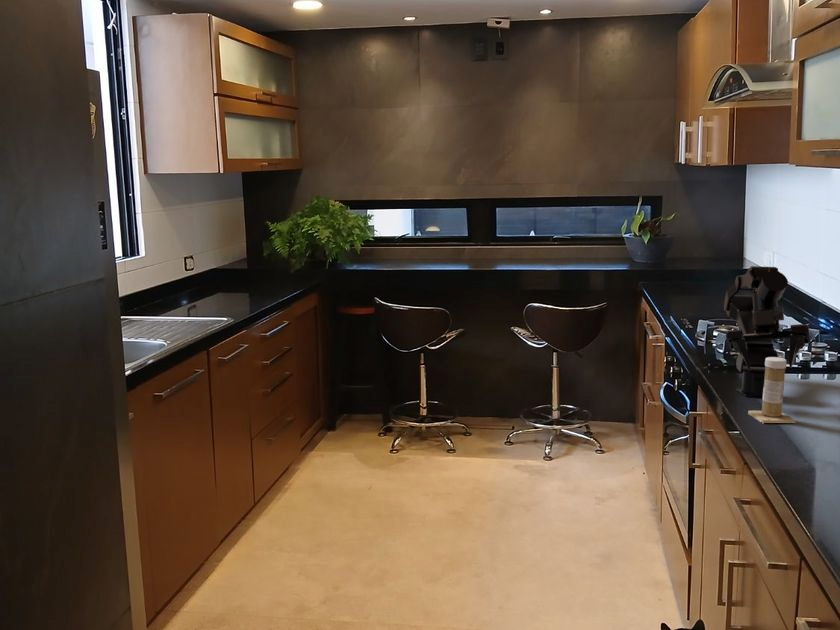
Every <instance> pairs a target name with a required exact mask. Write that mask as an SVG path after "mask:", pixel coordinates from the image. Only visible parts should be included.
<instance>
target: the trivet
mask: <svg viewBox="0 0 840 630" xmlns="http://www.w3.org/2000/svg"><path fill="white" fill-rule="evenodd" d="M761 411H762V410H748V413H747V415H749V416H751V417H752V418H754V419H755V420H757V421H758V422H760V423H761V422H762V423H761V424H763V425H764V423H795V424H796V421H797V420H796V419H794V418H792V417H790V416H789V415H788V414H786V413H784V412H782V415H781V416H779V417H771V416H766V415H763V414H762V413H761Z"/></svg>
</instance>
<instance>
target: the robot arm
mask: <svg viewBox="0 0 840 630" xmlns="http://www.w3.org/2000/svg"><path fill="white" fill-rule="evenodd" d="M788 284H789V281H788V278H787V277H786V275H785V274H784V273H782V272H780V271H779V269H778V267H776V266H754V265H753V266H750V267H749V268H748V269H747V271H746V273H745V274H743V275H742V274H741V275H740V274H739V275H737V276H736V277H735V281H734V283H733V284H732V285H731V286H730V287H729V288H728V289H727V290H726V293H725V296H724V300H723V301H724V302H723V309H724V311H725V312H726V315H727V317H728V318H729V319H731V320H734V321H735V322H736V324H737V327H738V329H730V330H727V331H726V332H725V340H726V344H727V346H728V349H729V350H734V352H737V353H738V355H737V358H736V369H737V370H738V371H739V372H740V373H742V383H741V388H736V391H737V393H740V394H741V395H743V396H745V397H753V398H754V397H755V398H756V397H758V398H759V397H760V398H761V397H762V398H763V388H764V379H765V359H766V358H767V357H779V355H778V352H777V350H776V349H775V347H774V343H773V341H775V340H787V339H789V354H788V364H789V368H790V369H792V368H793V365H794V362H795V359H796V357H797V355H798V352H799V350H800V348H803V347H805V346H806V345H807V344H810V343H811V334H810V328H809V325H808V324H806V323H801V324H800V323H799V324H790V330H781V328H780V321H785V315H784V308H783V307H784V306H779V304H778V301H780V299H781V297H782V296H783V294H784V292H785V290H786V289H787V286H788ZM739 291H752V293H753V294H752V295H749V294H748V295H747V294H746V295H745V294H744V295H743V294H741V295H740V294H738V293H739Z"/></svg>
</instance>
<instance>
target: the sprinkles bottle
mask: <svg viewBox="0 0 840 630" xmlns="http://www.w3.org/2000/svg"><path fill="white" fill-rule="evenodd" d="M786 369H787V359H785V358H784V357H783V358H782V357H779V356H778V357H767V358H766V359H765V379H764V388H763V397H762V405H761V410H760V411H761V413H762V414H763V415H766V416H771V417H779V416H781V415H782V413H783V412H782V408H783V401H784V391H785V390H784V389H785V373H786Z"/></svg>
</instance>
